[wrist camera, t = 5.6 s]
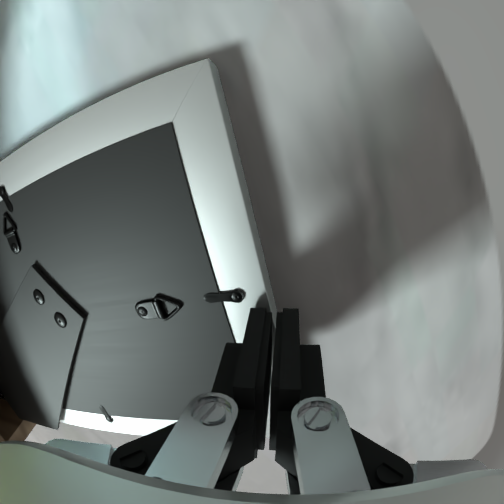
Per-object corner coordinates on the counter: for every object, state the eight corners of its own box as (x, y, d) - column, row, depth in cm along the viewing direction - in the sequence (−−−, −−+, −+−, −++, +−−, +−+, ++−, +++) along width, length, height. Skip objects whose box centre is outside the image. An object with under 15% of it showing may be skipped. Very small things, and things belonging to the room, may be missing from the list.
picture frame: (36, 396, 19) (301, 404, 15) (19, 418, 16) (301, 446, 12) (-49, 213, 14) (222, 71, 10) (-77, 224, 11) (202, 51, 7)
